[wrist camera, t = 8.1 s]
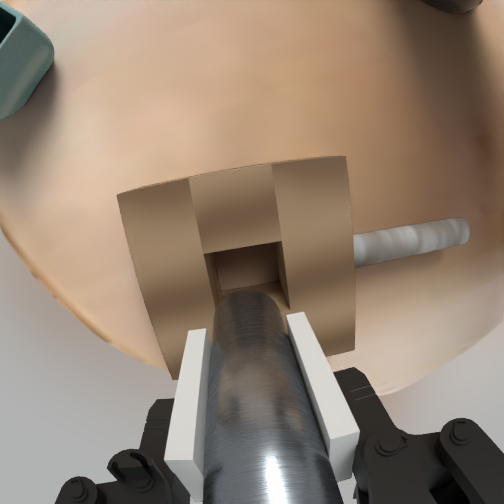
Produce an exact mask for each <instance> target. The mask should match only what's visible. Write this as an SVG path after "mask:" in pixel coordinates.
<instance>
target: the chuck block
mask: <svg viewBox="0 0 504 504" xmlns="http://www.w3.org/2000/svg"><path fill="white" fill-rule="evenodd" d="M117 199H118V204H119V208H120V213H121V217H122V222H123V226H124V230H125V234H126V238H127V242H128V246H129V250H130V254H131V258H132V261H133V265H134V269H135V272H136V276H137V279H138V282H139V286H140V289H141V292H142V296H143V299H144V302H145V305H146V308H147V311H148V314H149V317H150V320H151V323H152V326H153V329H154V332H155V335H156V338H157V340H158V343H159V346H160V349H161V351H162V354H163V357H164V359H165V362H166V364H167V367H168V369H169V372H170V374H171V377H172V379H173V380H178V379H179V374H180V369H181V364H182V359H183V354H184V350H185V345H186V340H187V336H188V331H190V330H197V329H204V328H206V330H207V334H208V337H209V341H210V345H211V344H212V332H213V320H214V313H215V310H216V308H217V306H218V305H219V303H220V302H221V301H222V300H223V299H224V298H226V297H227V296H228V295H230V294H232V293H235V292H238V291H243V290H254V291H259V292H262V293H264V294H266V295H268V296H269V297H271V298H272V299H273V300H274V301H275V302H276V304H277V305H278V307H279V310H280V312H281V315H282V318H283V321H284V324H285V327H286V330H287V333H288V329H287V321H286V315H288V314H294V313H299V312H304V313H305V316H306V318H307V320H308V322H309V324H310V326H311V328H312V330H313V332H314V334H315V336H316V338H317V340H318V343H319V345H320V347H321V349H322V351H323V353H324V355H325V357H327V356H332V355H336V354H340V353H344V352H348V351H352V350H355V267H360V266H365V265H370V264H375V263H380V262H385V261H389V260H394V259H399V258H404V257H408V256H413V255H417V254H422V253H426V252H431V251H435V250H440V249H444V248H449V247H453V246H457V245H461V244H465V243H466V242H467V241H468V239H469V235H470V231H469V226H468V223H467V222H466V220H465V219H464V218H462V217H456V218H450V219H444V220H438V221H432V222H426V223H420V224H414V225H408V226H402V227H396V228H390V229H384V230H378V231H372V232H366V233H361V234H355V235H353V225H352V212H351V200H350V189H349V180H348V171H347V162H346V156H326V157H314V158H305V159H297V160H288V161H281V162H273V163H266V164H259V165H253V166H246V167H240V168H234V169H228V170H222V171H217V172H211V173H206V174H200V175H195V176H190V177H185V178H180V179H175V180H171V181H166V182H161V183H157V184H153V185H148V186H144V187H140V188H137V189H133V190H130V191H127V192H124V193H120V194H117ZM271 242H274V245H275V252H276V259H277V267H278V274H279V282H273V283H268V284H262V285H256V286H250V287H244V288H238V289H232V290H225V291H221V289H220V284H219V279H218V274H217V270H216V265H215V260H214V255H213V252H217V251H223V250H229V249H235V248H241V247H247V246H253V245H259V244H265V243H271Z"/></svg>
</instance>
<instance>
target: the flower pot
mask: <svg viewBox="0 0 504 504" xmlns="http://www.w3.org/2000/svg"><path fill="white" fill-rule="evenodd" d="M53 62H54V47H53V45H52V42H51V41H50V39H49V38H48V37H47V35H46V34H45V33H44V32H42V31H41V30H40V29H39V28H38V27H37V26H36V25H35V24H33V23H32V22H31V21H30V20H29V19H28V18H27V17H25V16H24V15H23V14H22V13H20V12H19V11H17V10H15V9H13V8H11V7H10V6H8V5H6V4H4V3H3V2H1V1H0V121H2V120H4V119H6V118H8V117H10V116H11V115H13V114H14V113H16V112H17V111H18V110H19V109H20V108H22V107H23V106H24V105H25V104H26V102H27V101H28V99H29V97H30V96H31V94H32V93H33V91H34V89H35V88H36V86H37V85H38V83H39V82H40V80H41V79H42V78H43V76H44V75H45V73H46V72H47V71H48V69H49V68H50V67H51V65H52V64H53Z"/></svg>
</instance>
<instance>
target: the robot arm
mask: <svg viewBox="0 0 504 504" xmlns="http://www.w3.org/2000/svg"><path fill="white" fill-rule="evenodd" d="M423 1H425V2H427V3H428V4H430V5H432V6H434V7H436V8H439V9H441V10H444V11H447V12H450V13H457V14H460V13H465V12H467V11H469V10H472V9H474V8H476V7H477V6H479V5H480V4H481V3H482V1H483V0H423ZM286 321H287V329H288V336H289V339H290V342H291V345H292V348H293V351H294V354H295V357H296V360H297V363H298V366H299V369H300V372H301V375H302V378H303V381H304V384H305V387H306V390H307V393H308V396H309V399H310V402H311V405H312V408H313V411H314V414H315V417H316V420H317V424H318V427H319V430H320V433H321V436H322V439H323V442H324V445H325V448H326V451H327V454H328V457H329V460H330V463H331V466H332V469H333V472H334V475H335V478H336V481H337V482H339V481H343V480H347V479H350V478H351V477H352V472H353V473H354V476H355V479H356V482H357V483H356V487H355V490H354V495H353V499H357V504H504V453H503V452H502V451H501V450H500V449H499V448H498V447H497V446H496V444H495V443H494V442H493V441H492V440H491V439H490V438H489V437H488V435H487V434H486V433H485V432H484V431H483V430H482V429H481V428H480V427H479V426H478V425H477V424H476V423H475V422H474V421H472V420H470V419H466V418H456V419H454V420H451V421H449V422H448V423H447V424H445V425H444V426H443V428H442V430H441V432H435V433H429V434H422V435H412V434H407V433H406V432H404V431H403V430H400V429H398V428H397V427H396V426H395V425H394V423H393V422H392V420H391V419H390V417H389V415H388V413H387V411H386V410H385V408H384V406H383V405H382V403H381V401H380V399H379V398H378V396H377V395H376V393H375V391H374V389H373V388H372V386H371V384H370V382H369V381H368V379H367V377H366V376H365V374H363V373H362V372H360V371H359V370H358V369H356V368H355V367H352V368H349V369H345V370H341V371H337V372H332V370H331V368H330V366H329V363H328V361H327V359H326V357H325V355H324V353H323V351H322V349H321V347H320V345H319V343H318V340H317V338H316V336H315V334H314V332H313V330H312V328H311V326H310V324H309V322H308V320H307V318H306V316H305V313H304V312H299V313H294V314H288V315H286ZM210 357H211V345H210V341H209V337H208V334H207V330H206V328H204V329H197V330H190V331H188V336H187V340H186V345H185V350H184V354H183V359H182V364H181V369H180V374H179V379H178V384H177V390H176V395H175V398H173V399H157V400H156V402H155V403H154V404H153V406H152V407H151V408H150V409H149V412H148V416H147V420H146V421H147V423H146V424H145V428H144V432H143V436H142V439H141V444H140V448H139V449H127V450H123V451H121V452H119V453H118V454H116V455H114V456H113V457H112V458H111V460H110V461H109V463H108V466H107V469H108V470H109V471H110V473H111V474H112V475H113V476H114V477H115V478H116V479H117V481H114V482H108V483H102V484H95V483H94V482H93V481H92V480H90V479H88V478H86V477H80V476H78V477H74V478H71V479H69V480H68V481H67V482H65V484H64V485H63V487H62V488H61V490H60V493H59V495H58V497H57V500H56V502H55V504H190V496H191V497H192V498H193V500H194V501H195V502H198V501H199V502H203V480H204V455H205V434H206V416H207V400H208V384H209V370H210Z"/></svg>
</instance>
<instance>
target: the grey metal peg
mask: <svg viewBox="0 0 504 504" xmlns="http://www.w3.org/2000/svg"><path fill="white" fill-rule="evenodd" d="M203 504H344V503H343V500H342V497H341V494H340V491H339V488H338V485H337V481H336V478H335V475H334V472H333V469H332V466H331V463H330V460H329V457H328V454H327V451H326V448H325V445H324V442H323V439H322V436H321V433H320V430H319V427H318V424H317V420H316V417H315V414H314V411H313V408H312V405H311V402H310V399H309V396H308V393H307V390H306V387H305V384H304V381H303V378H302V375H301V372H300V369H299V366H298V363H297V360H296V357H295V354H294V351H293V348H292V345H291V342H290V339H289V336H288V333H287V330H286V327H285V324H284V321H283V318H282V315H281V312H280V310H279V307H278V305H277V304H276V302H275V301H274V300H273V299H272V298H271V297H269V296H268V295H266V294H264V293H262V292H259V291H254V290H243V291H238V292H235V293H232V294H230V295H228V296H227V297H226V298H224V299H223V300H222V301H221V302H220V303H219V305H218V306H217V308H216V310H215V313H214V320H213V332H212V344H211V357H210V370H209V384H208V400H207V416H206V434H205V455H204V480H203Z"/></svg>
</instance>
